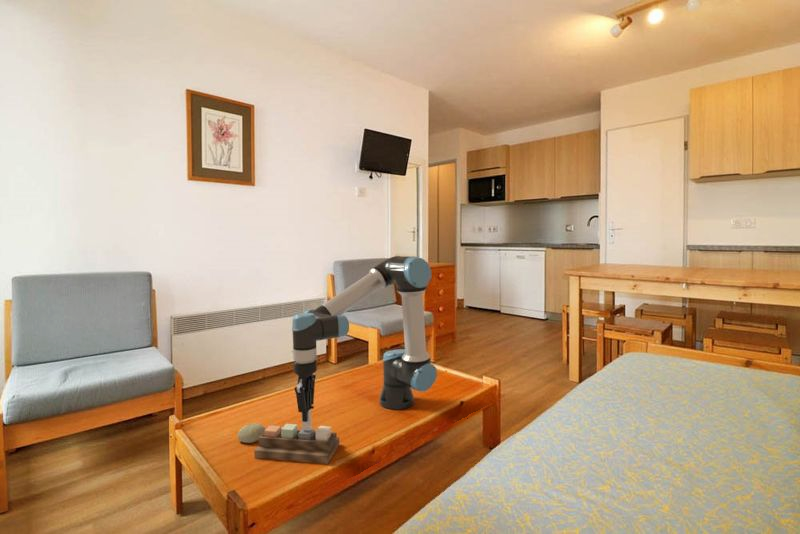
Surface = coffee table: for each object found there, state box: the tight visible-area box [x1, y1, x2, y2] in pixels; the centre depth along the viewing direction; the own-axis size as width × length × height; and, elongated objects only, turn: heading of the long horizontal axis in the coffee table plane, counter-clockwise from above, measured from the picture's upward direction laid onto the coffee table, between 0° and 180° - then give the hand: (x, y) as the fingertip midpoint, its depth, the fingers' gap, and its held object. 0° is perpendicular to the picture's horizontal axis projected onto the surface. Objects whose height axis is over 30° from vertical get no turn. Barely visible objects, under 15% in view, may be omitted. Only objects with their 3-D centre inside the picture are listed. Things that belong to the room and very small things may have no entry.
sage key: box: [281, 423, 298, 439], centre depth 133 cm, size 4×4×4 cm
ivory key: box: [315, 425, 332, 441], centre depth 131 cm, size 4×4×4 cm
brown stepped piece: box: [253, 429, 340, 465], centre depth 132 cm, size 25×12×6 cm, turn 82°
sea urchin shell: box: [237, 422, 266, 444], centre depth 141 cm, size 9×8×8 cm
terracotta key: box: [264, 424, 282, 438], centre depth 134 cm, size 4×4×4 cm
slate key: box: [298, 427, 315, 440], centre depth 132 cm, size 4×4×4 cm
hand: (306, 429), depth 132 cm, fingers closed
